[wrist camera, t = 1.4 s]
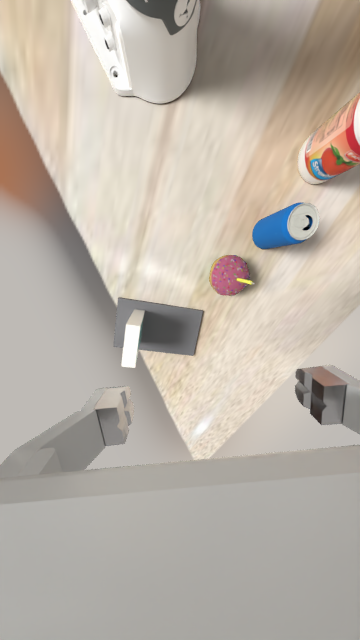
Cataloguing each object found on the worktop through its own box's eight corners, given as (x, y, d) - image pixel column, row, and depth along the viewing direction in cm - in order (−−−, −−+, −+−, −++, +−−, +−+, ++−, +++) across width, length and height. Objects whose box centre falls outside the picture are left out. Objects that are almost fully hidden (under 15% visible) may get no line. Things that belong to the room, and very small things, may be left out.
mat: (114, 345, 45) (113, 346, 45) (118, 297, 42) (118, 297, 42) (193, 354, 48) (193, 355, 48) (202, 310, 45) (203, 311, 45)
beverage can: (274, 250, 44) (315, 244, 32) (248, 248, 43) (281, 240, 31) (280, 220, 42) (326, 202, 30) (253, 216, 41) (291, 197, 29)
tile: (130, 341, 45) (121, 366, 33) (134, 309, 43) (126, 324, 31) (140, 342, 45) (135, 367, 34) (145, 310, 43) (140, 326, 32)
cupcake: (246, 267, 44) (277, 267, 32) (227, 299, 45) (251, 310, 34) (215, 249, 42) (237, 242, 30) (197, 283, 43) (212, 288, 32)
